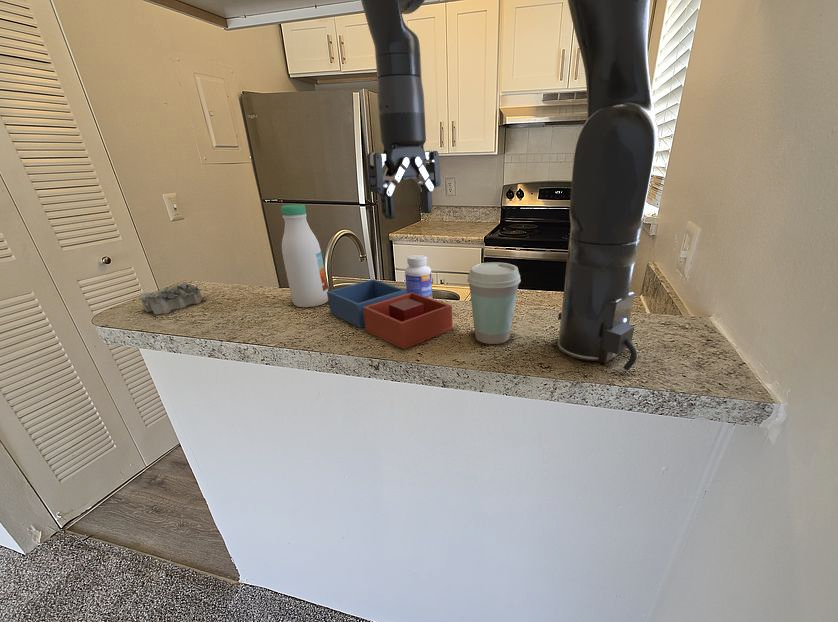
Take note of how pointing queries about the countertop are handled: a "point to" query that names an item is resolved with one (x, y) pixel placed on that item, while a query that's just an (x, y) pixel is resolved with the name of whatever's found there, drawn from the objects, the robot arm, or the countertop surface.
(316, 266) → the milk bottle
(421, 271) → the pill bottle
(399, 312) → the red block
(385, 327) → the red bin
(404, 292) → the blue bin
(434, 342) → the countertop surface
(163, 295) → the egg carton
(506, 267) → the coffee cup
